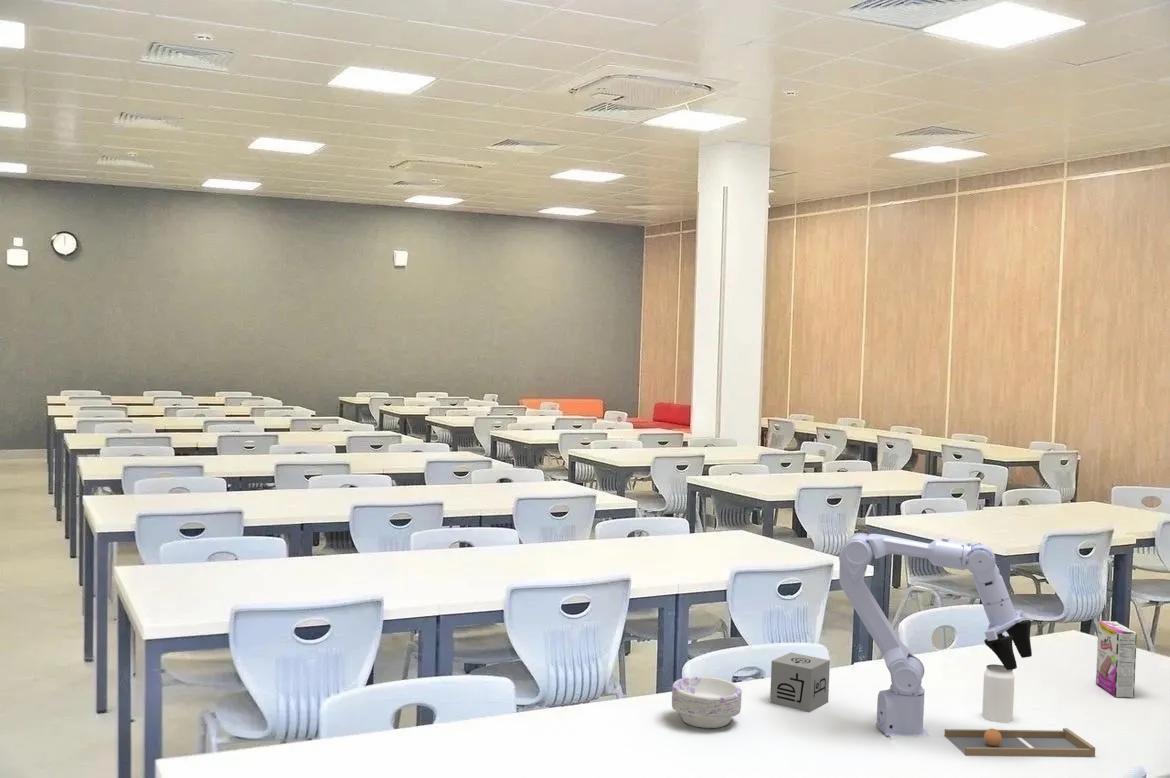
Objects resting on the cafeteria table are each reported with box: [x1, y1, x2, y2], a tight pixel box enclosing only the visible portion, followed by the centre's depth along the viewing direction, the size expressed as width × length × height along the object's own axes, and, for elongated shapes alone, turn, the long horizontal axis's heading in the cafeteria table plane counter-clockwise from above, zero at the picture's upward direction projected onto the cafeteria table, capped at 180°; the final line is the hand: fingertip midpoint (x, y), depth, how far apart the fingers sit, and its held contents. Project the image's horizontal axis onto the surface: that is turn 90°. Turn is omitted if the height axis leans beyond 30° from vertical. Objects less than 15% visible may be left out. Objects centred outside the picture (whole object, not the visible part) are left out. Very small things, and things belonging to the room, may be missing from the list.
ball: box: [984, 728, 1002, 746], centre depth 231 cm, size 4×4×4 cm
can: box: [981, 663, 1015, 724], centre depth 250 cm, size 6×6×12 cm
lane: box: [944, 727, 1096, 758], centre depth 232 cm, size 27×12×2 cm, turn 93°
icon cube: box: [769, 652, 831, 713], centre depth 258 cm, size 10×10×10 cm
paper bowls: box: [671, 676, 743, 729], centre depth 243 cm, size 15×15×8 cm
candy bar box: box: [1095, 620, 1138, 699], centre depth 275 cm, size 11×5×16 cm, turn 179°
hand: (1019, 662), depth 232 cm, fingers open, 7 cm apart
